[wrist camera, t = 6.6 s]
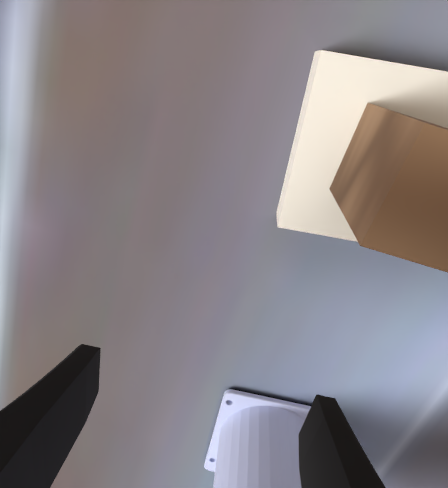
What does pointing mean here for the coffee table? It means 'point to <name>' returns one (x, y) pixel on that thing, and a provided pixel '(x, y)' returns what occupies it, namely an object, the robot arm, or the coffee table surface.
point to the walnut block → (396, 186)
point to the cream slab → (347, 129)
